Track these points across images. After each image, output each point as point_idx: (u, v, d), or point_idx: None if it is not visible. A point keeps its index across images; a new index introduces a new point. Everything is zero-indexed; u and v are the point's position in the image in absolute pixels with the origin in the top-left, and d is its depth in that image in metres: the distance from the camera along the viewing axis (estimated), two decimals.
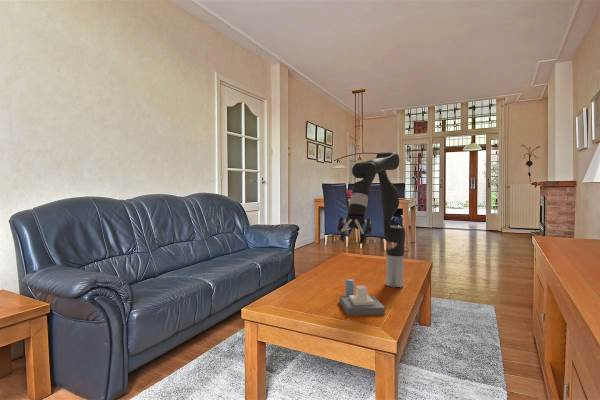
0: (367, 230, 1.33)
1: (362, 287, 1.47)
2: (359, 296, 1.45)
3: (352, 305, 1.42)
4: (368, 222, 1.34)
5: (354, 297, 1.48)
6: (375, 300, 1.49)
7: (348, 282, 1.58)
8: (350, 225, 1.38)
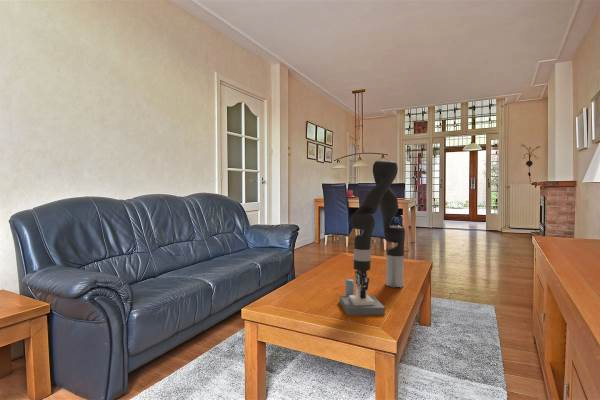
0: (361, 287, 1.43)
1: None
2: (359, 296, 1.45)
3: (352, 305, 1.42)
4: (363, 281, 1.41)
5: (354, 297, 1.48)
6: (375, 300, 1.49)
7: (348, 282, 1.58)
8: (358, 278, 1.48)
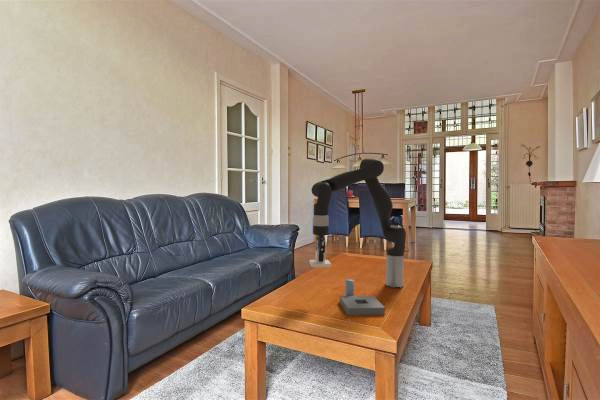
0: (319, 251, 1.52)
1: None
2: (317, 259, 1.55)
3: (352, 305, 1.42)
4: (320, 244, 1.51)
5: (313, 261, 1.58)
6: (375, 300, 1.49)
7: (348, 282, 1.58)
8: None
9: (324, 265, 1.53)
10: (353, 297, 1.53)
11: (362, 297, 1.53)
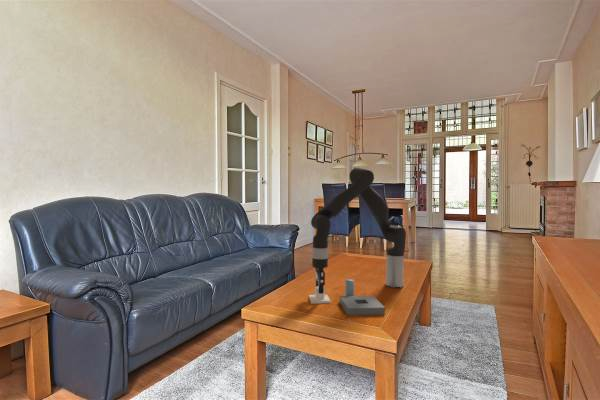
0: (319, 283, 1.51)
1: None
2: (317, 296, 1.56)
3: (352, 305, 1.42)
4: (319, 275, 1.51)
5: (313, 296, 1.59)
6: (375, 300, 1.49)
7: (348, 282, 1.58)
8: (317, 275, 1.59)
9: (323, 302, 1.54)
10: (353, 297, 1.53)
11: (362, 297, 1.53)
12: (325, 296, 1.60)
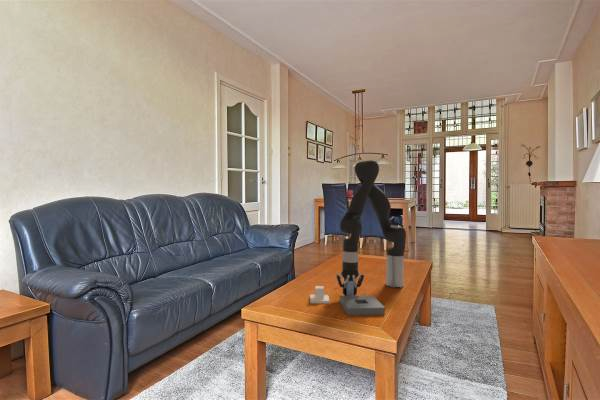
0: (359, 284, 1.59)
1: (319, 287, 1.57)
2: (316, 295, 1.56)
3: (352, 305, 1.42)
4: (362, 278, 1.60)
5: (313, 296, 1.59)
6: (375, 300, 1.49)
7: (348, 282, 1.58)
8: (349, 279, 1.59)
9: (322, 302, 1.53)
10: (353, 297, 1.53)
11: (362, 297, 1.53)
12: (325, 296, 1.59)
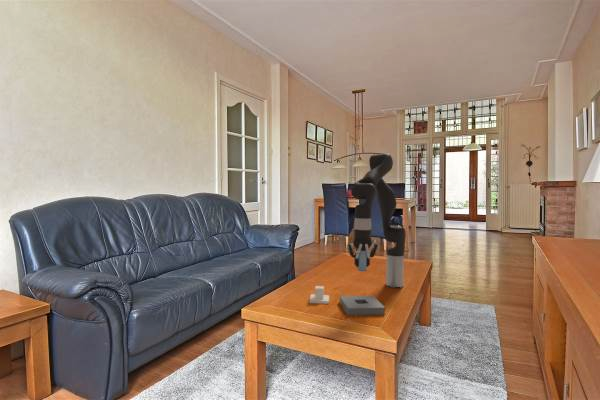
0: (373, 255, 1.46)
1: (319, 287, 1.57)
2: (316, 295, 1.56)
3: (352, 305, 1.42)
4: (376, 248, 1.46)
5: (313, 296, 1.59)
6: (375, 300, 1.49)
7: (360, 252, 1.45)
8: (361, 249, 1.46)
9: (321, 302, 1.53)
10: (353, 297, 1.53)
11: (362, 297, 1.53)
12: (326, 296, 1.59)
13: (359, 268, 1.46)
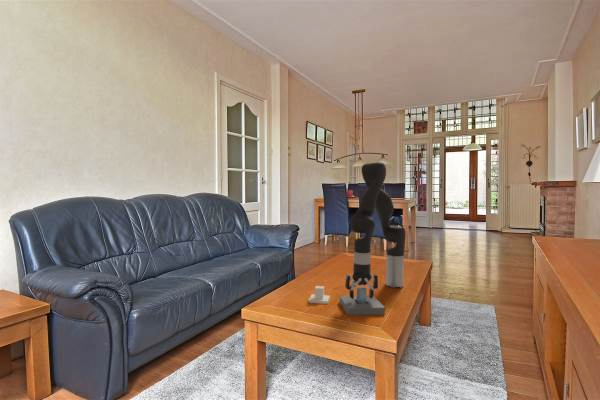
0: (376, 286, 1.47)
1: (319, 287, 1.57)
2: (315, 295, 1.56)
3: (352, 305, 1.42)
4: (376, 279, 1.47)
5: (314, 296, 1.60)
6: (375, 300, 1.49)
7: (360, 290, 1.46)
8: (359, 283, 1.46)
9: (320, 302, 1.53)
10: None
11: None
12: (326, 297, 1.59)
13: None
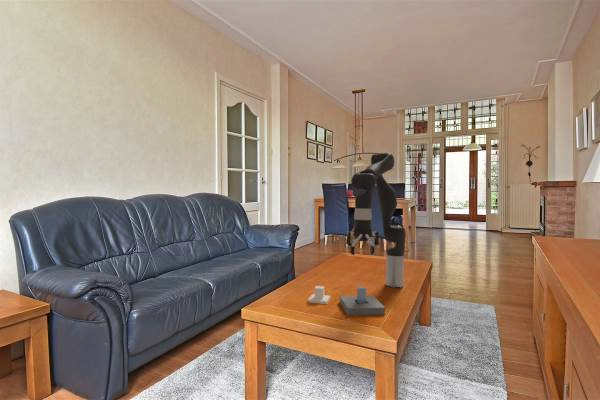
0: (377, 243, 1.46)
1: (319, 287, 1.57)
2: (315, 295, 1.56)
3: (352, 305, 1.42)
4: (377, 235, 1.46)
5: (314, 296, 1.60)
6: (375, 300, 1.49)
7: (360, 290, 1.46)
8: (360, 239, 1.46)
9: (320, 302, 1.53)
10: (353, 297, 1.53)
11: None
12: (326, 297, 1.59)
13: None
